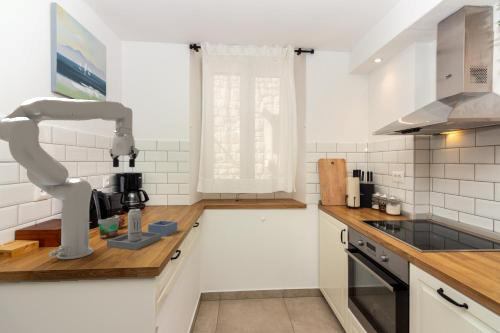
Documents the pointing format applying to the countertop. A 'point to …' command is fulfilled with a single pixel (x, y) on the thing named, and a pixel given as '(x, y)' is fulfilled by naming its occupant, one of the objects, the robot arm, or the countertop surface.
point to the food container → (108, 227)
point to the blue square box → (163, 227)
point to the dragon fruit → (120, 221)
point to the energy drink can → (134, 225)
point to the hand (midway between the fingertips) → (123, 167)
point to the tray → (125, 244)
